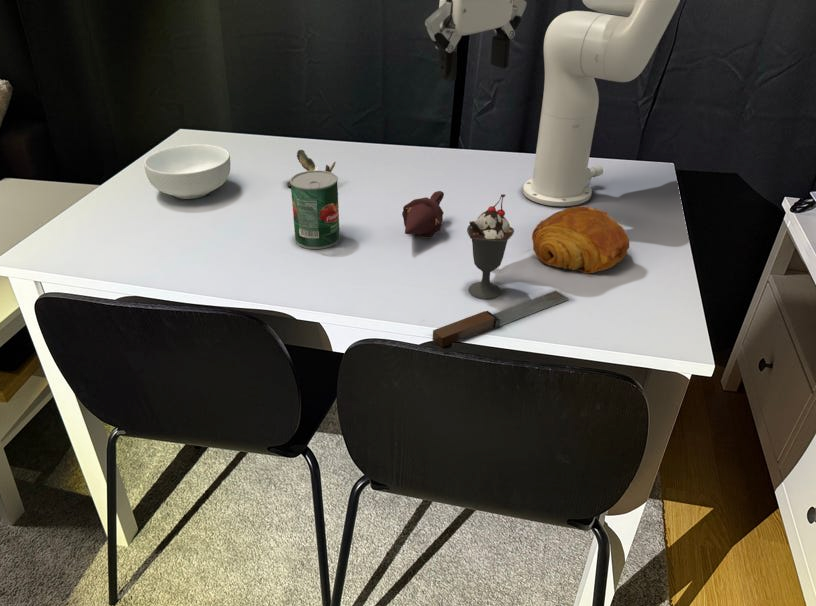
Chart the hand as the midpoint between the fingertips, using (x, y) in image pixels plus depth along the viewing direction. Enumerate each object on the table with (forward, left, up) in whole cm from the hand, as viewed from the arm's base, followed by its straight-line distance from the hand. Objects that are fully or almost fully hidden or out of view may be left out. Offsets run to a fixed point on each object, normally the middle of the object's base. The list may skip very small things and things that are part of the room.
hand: (473, 72), depth 104 cm
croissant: (-13, +14, -28) cm, 34 cm away
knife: (+9, +22, -28) cm, 36 cm away
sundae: (+7, +14, -28) cm, 32 cm away
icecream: (+4, -6, -28) cm, 29 cm away
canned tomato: (+20, -15, -28) cm, 37 cm away
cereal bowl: (+31, -48, -28) cm, 64 cm away
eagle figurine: (+10, -37, -28) cm, 47 cm away
